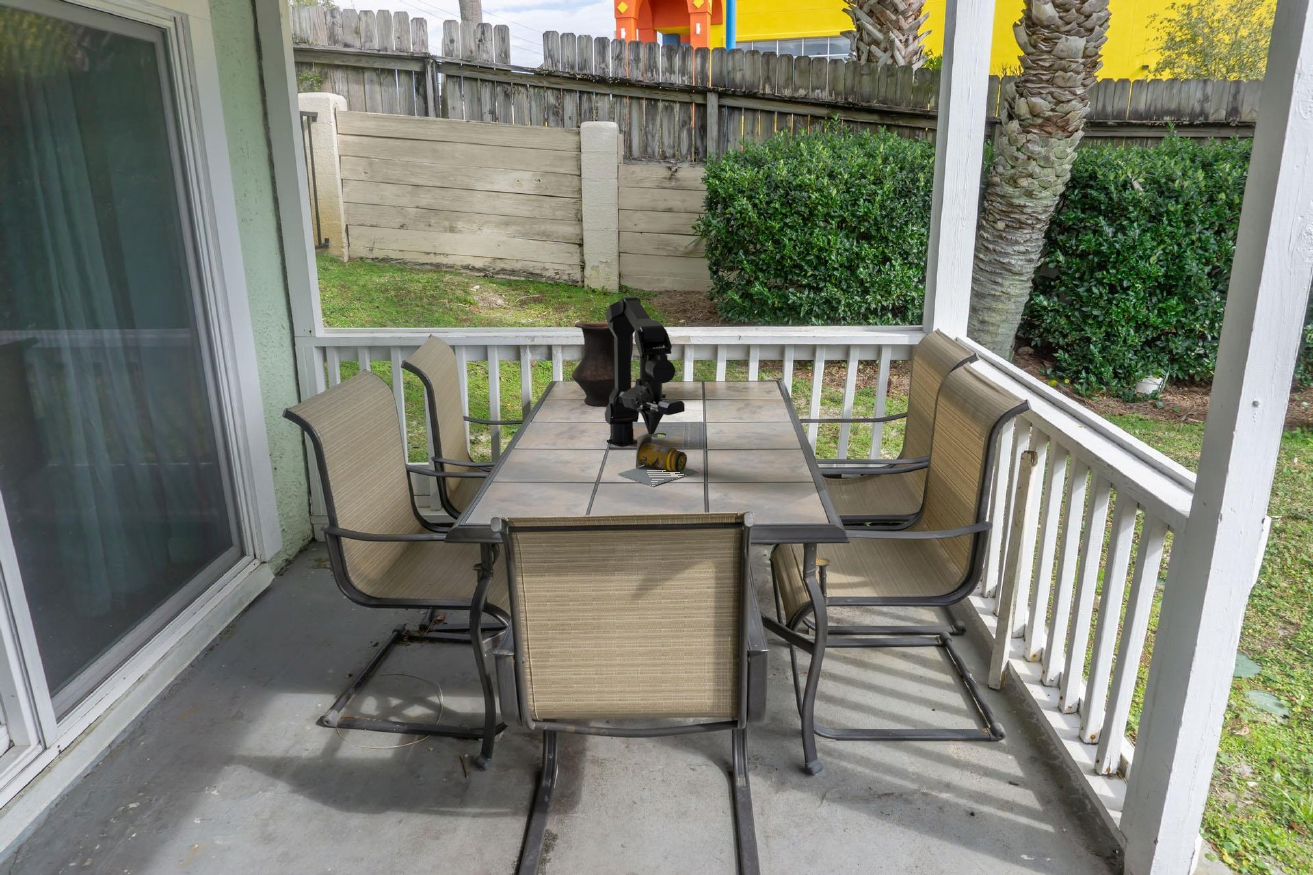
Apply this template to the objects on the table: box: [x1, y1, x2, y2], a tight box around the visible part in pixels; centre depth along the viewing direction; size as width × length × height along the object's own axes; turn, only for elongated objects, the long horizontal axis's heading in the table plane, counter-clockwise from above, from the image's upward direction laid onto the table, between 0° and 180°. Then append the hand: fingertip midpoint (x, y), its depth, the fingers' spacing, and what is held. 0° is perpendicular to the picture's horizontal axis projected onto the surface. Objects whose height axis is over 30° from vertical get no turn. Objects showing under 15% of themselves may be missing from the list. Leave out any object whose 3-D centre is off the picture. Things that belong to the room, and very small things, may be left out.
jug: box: [571, 320, 634, 406], centre depth 296 cm, size 21×18×30 cm
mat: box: [617, 465, 698, 487], centre depth 230 cm, size 13×16×1 cm
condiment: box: [635, 433, 688, 472], centre depth 231 cm, size 7×8×12 cm
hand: (651, 434), depth 228 cm, fingers closed
